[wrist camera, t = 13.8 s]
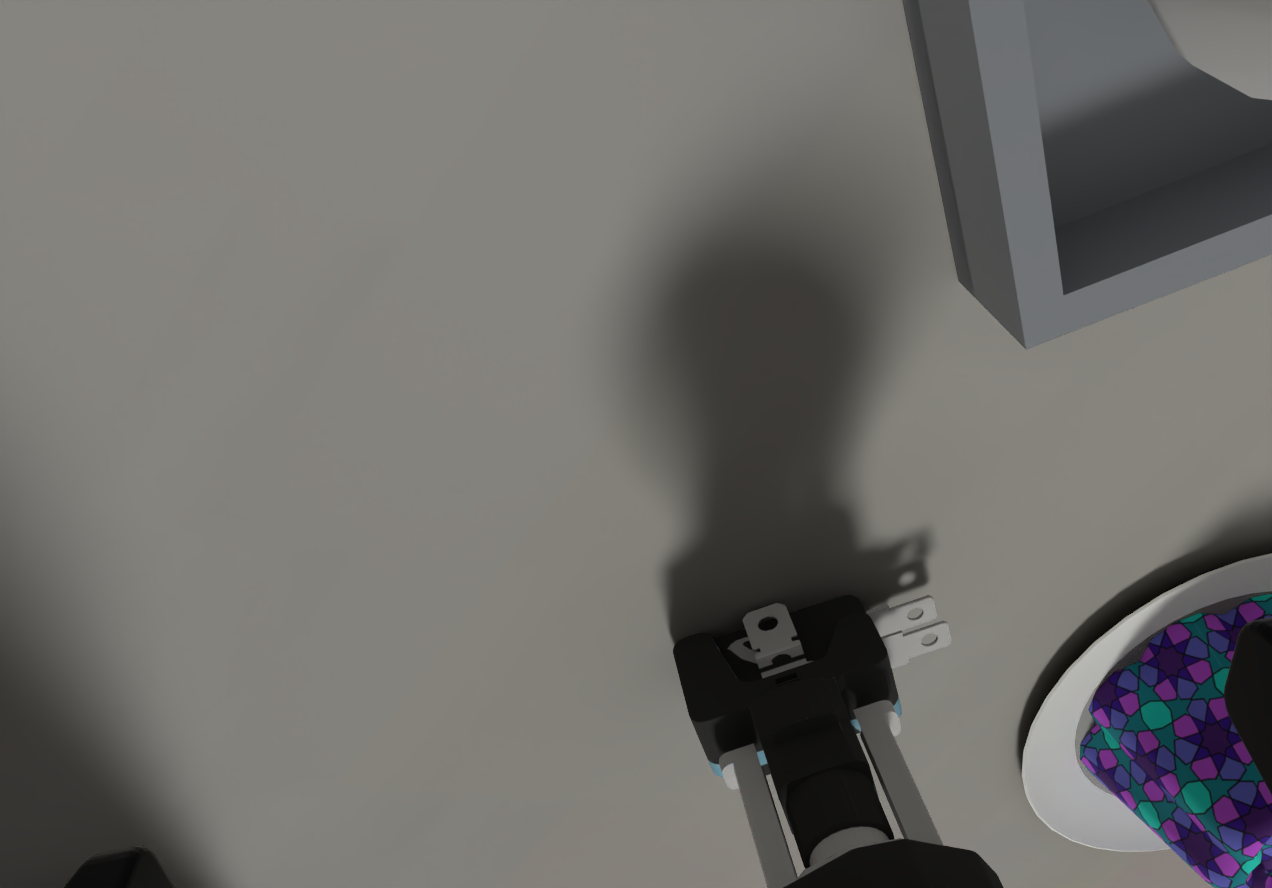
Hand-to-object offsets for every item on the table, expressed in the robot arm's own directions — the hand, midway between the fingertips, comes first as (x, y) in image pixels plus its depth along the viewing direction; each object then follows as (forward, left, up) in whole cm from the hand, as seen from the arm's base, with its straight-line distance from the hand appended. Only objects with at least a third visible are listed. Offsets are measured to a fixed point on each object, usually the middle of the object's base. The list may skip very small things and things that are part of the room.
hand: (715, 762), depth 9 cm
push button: (+4, -12, -13) cm, 18 cm away
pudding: (+16, -18, -14) cm, 28 cm away
